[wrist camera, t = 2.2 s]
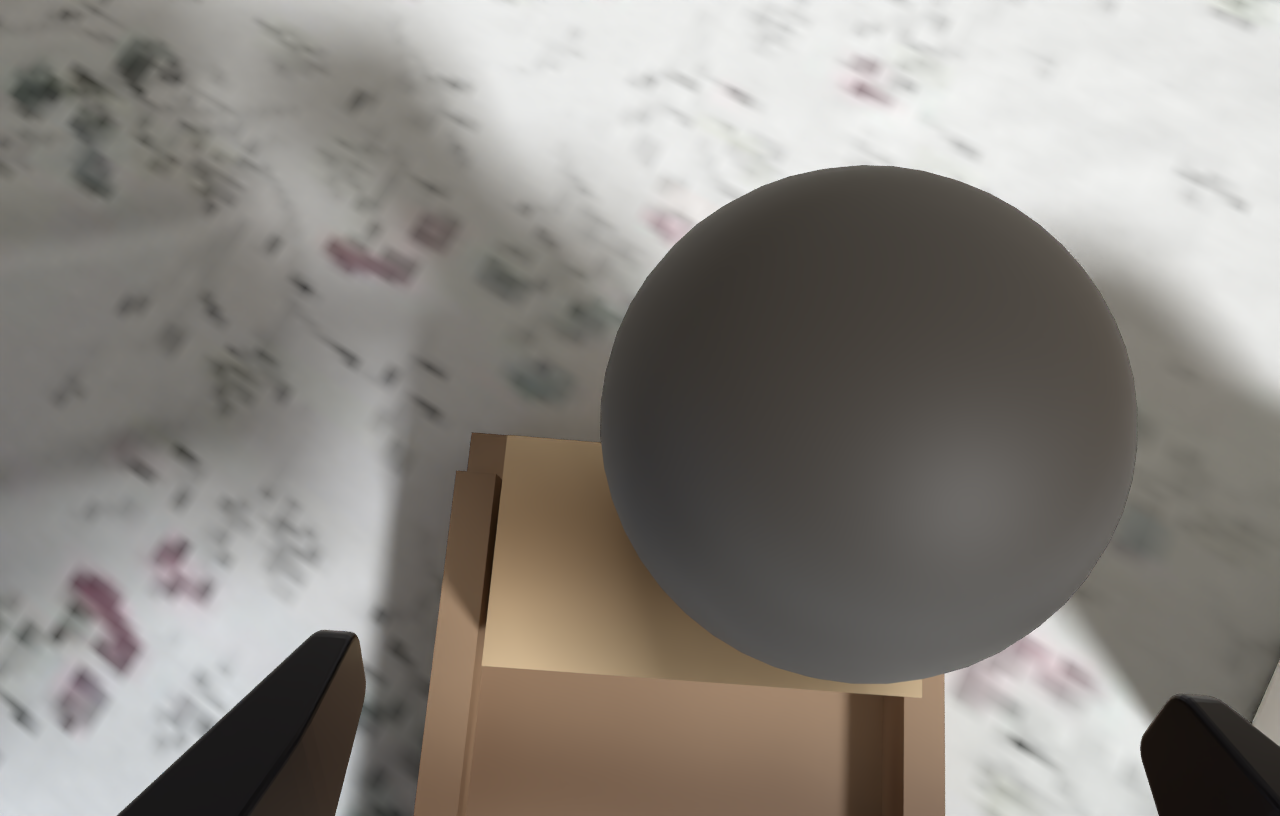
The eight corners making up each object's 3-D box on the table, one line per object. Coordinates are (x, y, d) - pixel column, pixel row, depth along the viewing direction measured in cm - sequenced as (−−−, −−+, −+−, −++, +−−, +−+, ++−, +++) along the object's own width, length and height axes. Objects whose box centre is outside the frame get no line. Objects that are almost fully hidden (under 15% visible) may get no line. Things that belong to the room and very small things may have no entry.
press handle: (866, 676, 17) (1707, 999, 4) (503, 650, 16) (164, 900, 4) (869, 442, 18) (1544, 102, 5) (528, 413, 18) (330, -15, 5)
